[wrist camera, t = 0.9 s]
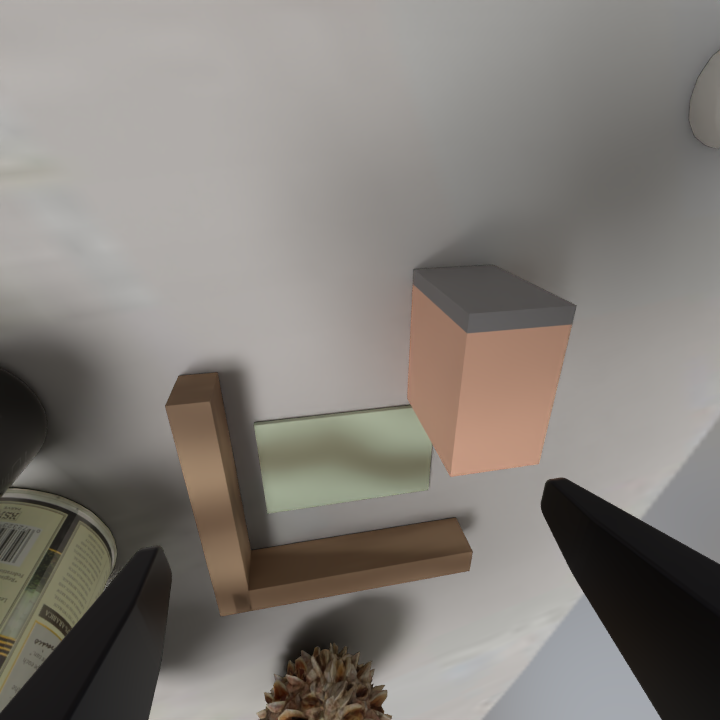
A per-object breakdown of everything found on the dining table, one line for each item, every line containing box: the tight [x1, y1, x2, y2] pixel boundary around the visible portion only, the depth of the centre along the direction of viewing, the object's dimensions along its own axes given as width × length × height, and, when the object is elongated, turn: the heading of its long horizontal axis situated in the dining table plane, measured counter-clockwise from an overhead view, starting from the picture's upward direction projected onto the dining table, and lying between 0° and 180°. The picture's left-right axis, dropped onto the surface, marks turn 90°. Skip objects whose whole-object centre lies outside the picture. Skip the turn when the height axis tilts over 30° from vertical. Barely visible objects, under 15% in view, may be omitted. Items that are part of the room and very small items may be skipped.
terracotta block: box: [407, 265, 576, 477], centre depth 21 cm, size 8×4×7 cm, turn 1°
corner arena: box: [165, 372, 473, 616], centre depth 25 cm, size 16×17×3 cm
